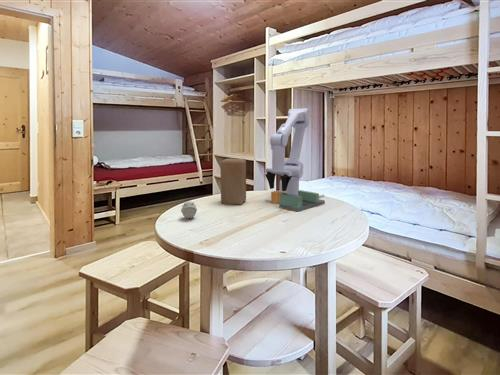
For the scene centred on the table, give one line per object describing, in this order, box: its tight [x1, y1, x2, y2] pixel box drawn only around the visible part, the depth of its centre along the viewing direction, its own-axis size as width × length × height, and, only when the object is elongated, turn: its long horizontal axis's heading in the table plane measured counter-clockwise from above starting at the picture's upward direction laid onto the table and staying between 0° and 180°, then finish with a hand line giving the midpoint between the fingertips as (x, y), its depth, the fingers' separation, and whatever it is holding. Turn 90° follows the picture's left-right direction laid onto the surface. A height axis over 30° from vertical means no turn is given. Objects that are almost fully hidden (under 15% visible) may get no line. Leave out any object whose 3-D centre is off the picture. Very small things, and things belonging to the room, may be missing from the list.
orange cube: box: [270, 190, 285, 205], centre depth 156 cm, size 4×5×5 cm
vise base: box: [278, 193, 326, 212], centre depth 149 cm, size 10×20×6 cm, turn 134°
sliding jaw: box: [298, 189, 325, 203], centre depth 154 cm, size 10×7×4 cm
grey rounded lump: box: [180, 200, 198, 219], centre depth 129 cm, size 6×7×7 cm
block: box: [219, 158, 247, 206], centre depth 154 cm, size 10×10×20 cm
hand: (277, 189), depth 155 cm, fingers open, 7 cm apart
